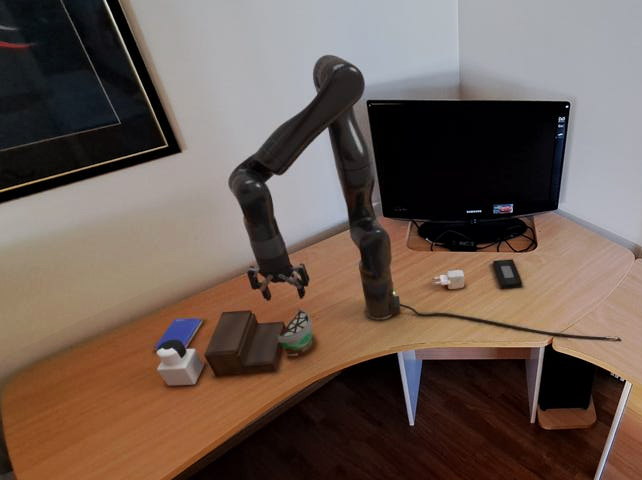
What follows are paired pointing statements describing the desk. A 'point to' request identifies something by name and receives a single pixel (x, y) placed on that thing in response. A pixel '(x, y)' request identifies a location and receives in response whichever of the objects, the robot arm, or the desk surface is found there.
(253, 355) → the desk shelf
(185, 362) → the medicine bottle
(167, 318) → the desk surface
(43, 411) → the desk surface
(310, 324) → the food container
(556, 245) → the desk surface
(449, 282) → the power adapter
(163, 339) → the hard drive
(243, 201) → the robot arm
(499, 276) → the vhs tape
